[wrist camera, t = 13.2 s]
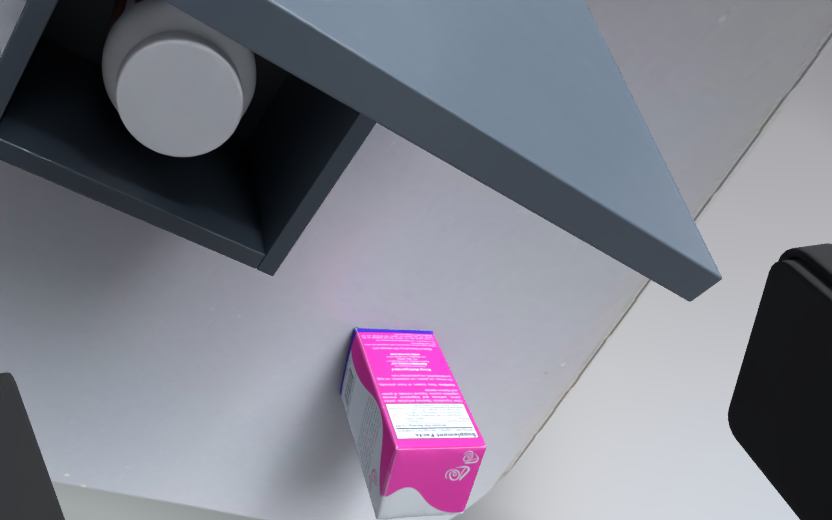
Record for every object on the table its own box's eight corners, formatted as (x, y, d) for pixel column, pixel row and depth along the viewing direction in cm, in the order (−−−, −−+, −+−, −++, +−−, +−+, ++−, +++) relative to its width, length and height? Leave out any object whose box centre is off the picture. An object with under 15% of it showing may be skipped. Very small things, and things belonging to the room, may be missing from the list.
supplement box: (417, 393, 57) (463, 518, 48) (337, 391, 55) (369, 522, 46) (436, 328, 55) (489, 448, 45) (353, 324, 53) (390, 449, 43)
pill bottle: (175, 104, 41) (172, 204, 32) (85, 7, 38) (54, 89, 29) (270, 33, 40) (295, 115, 31) (187, -73, 37) (188, -15, 28)
